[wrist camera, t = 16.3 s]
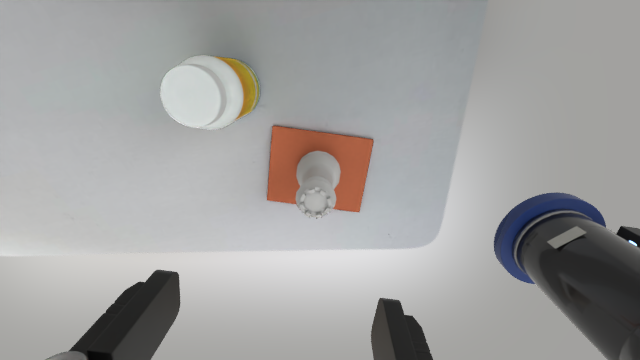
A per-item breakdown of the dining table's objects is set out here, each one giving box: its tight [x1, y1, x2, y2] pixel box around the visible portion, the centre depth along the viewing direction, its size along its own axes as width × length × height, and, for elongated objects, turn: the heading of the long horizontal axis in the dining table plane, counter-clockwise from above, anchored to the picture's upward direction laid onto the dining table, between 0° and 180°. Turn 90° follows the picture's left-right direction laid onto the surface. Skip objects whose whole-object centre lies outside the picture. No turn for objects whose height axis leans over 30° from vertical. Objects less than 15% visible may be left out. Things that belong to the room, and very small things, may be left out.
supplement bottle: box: [160, 55, 260, 130], centre depth 24 cm, size 5×5×10 cm
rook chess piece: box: [295, 151, 341, 219], centre depth 27 cm, size 4×4×8 cm
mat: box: [267, 126, 373, 212], centre depth 31 cm, size 10×8×1 cm
